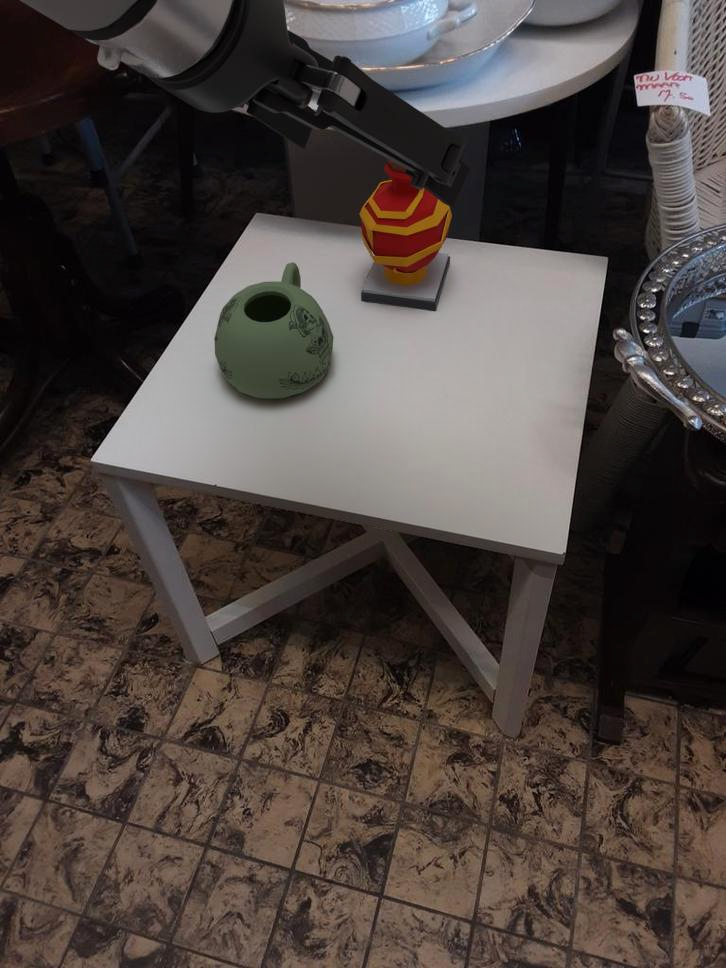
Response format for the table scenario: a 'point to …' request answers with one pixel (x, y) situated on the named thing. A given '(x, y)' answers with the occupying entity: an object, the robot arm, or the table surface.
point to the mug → (273, 338)
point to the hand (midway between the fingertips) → (379, 157)
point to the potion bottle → (403, 227)
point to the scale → (411, 295)
